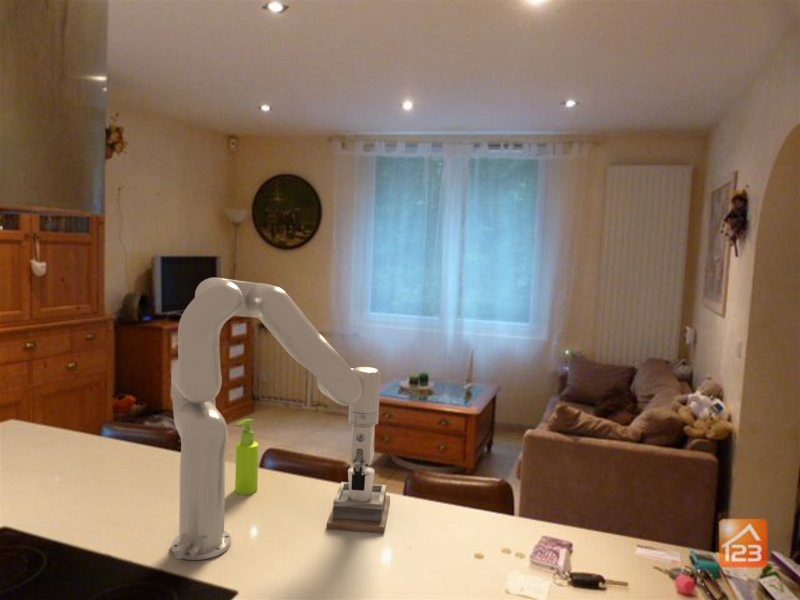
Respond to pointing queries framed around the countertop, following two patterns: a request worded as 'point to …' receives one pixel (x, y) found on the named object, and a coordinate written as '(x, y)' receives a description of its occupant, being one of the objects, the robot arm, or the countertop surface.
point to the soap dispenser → (246, 460)
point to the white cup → (367, 492)
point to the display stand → (359, 511)
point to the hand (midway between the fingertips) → (360, 482)
